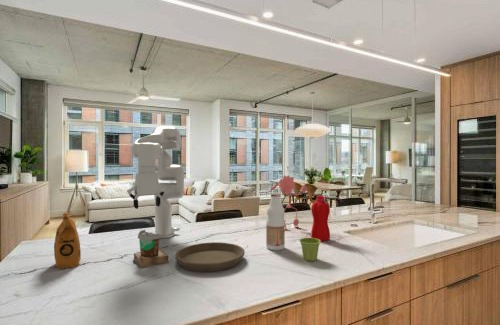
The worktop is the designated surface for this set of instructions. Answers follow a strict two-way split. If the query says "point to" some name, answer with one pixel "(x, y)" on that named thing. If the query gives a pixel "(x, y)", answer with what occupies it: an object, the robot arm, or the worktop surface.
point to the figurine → (287, 186)
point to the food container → (149, 244)
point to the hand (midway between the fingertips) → (147, 207)
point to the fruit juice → (275, 224)
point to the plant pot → (310, 248)
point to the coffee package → (67, 244)
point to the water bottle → (320, 219)
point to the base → (151, 259)
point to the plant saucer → (209, 256)
